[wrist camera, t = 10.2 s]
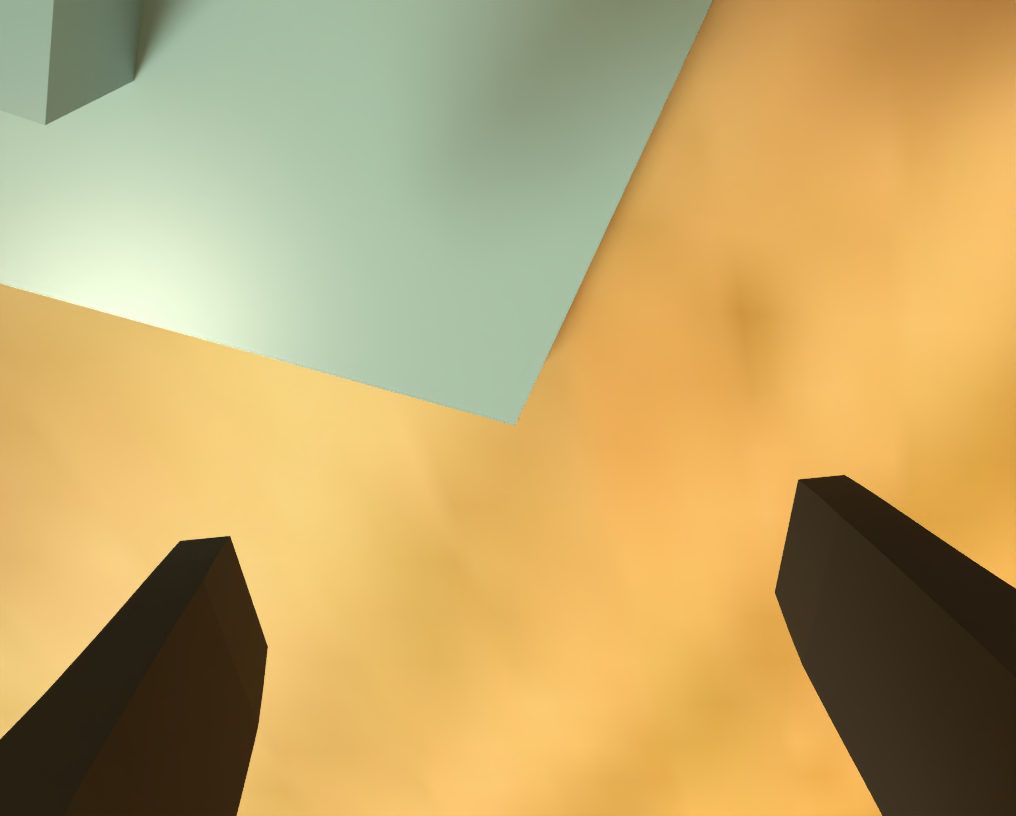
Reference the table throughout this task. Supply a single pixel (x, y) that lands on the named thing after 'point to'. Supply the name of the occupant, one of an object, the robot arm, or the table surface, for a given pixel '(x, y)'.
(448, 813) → the table surface
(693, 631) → the table surface
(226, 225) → the lid
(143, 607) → the robot arm
